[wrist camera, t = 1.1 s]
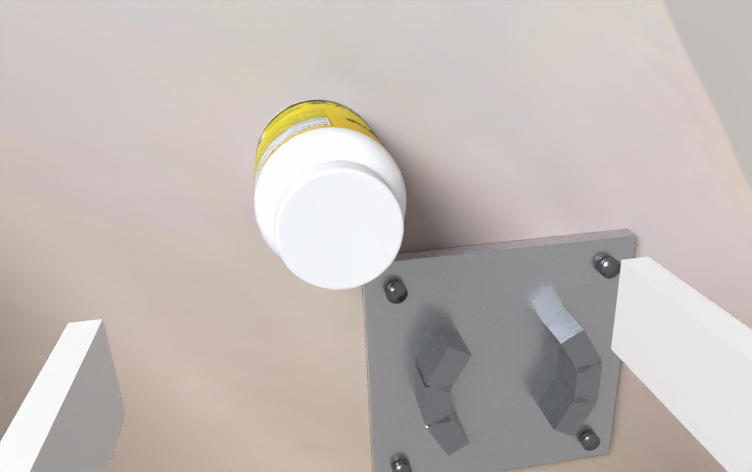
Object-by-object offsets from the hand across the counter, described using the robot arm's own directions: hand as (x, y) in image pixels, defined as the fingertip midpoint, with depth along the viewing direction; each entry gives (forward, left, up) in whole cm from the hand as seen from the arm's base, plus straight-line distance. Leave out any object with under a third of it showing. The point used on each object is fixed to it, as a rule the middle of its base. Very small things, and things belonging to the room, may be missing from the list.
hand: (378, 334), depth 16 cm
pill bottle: (0, 0, -18) cm, 18 cm away
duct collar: (+10, -14, -18) cm, 25 cm away
